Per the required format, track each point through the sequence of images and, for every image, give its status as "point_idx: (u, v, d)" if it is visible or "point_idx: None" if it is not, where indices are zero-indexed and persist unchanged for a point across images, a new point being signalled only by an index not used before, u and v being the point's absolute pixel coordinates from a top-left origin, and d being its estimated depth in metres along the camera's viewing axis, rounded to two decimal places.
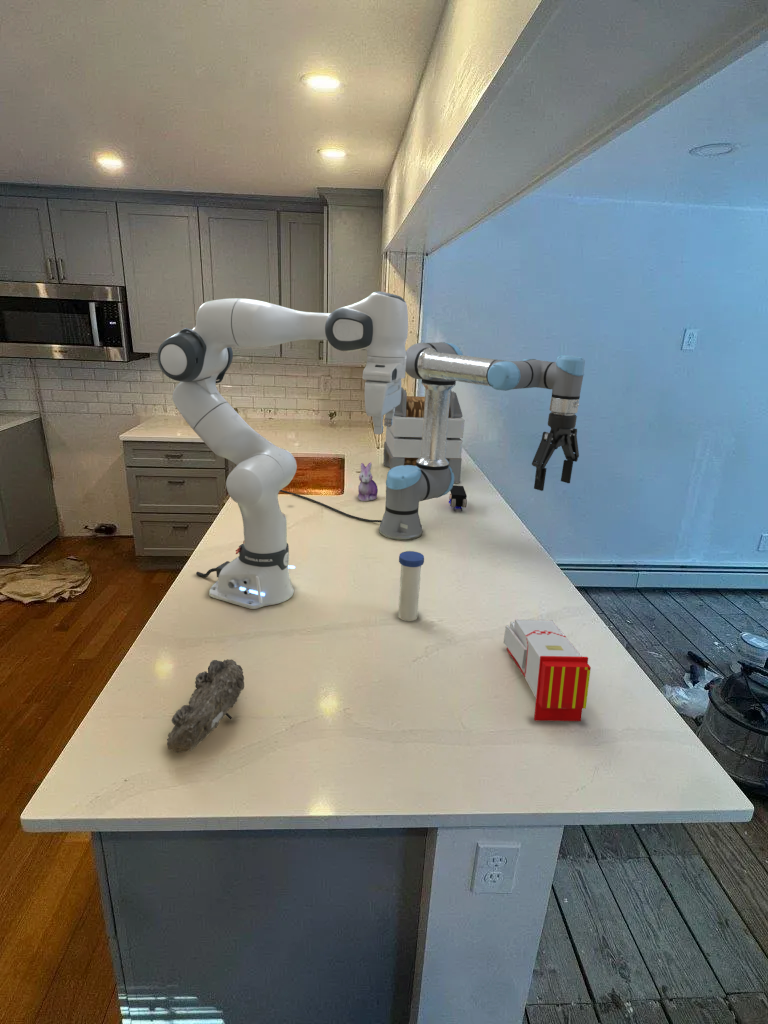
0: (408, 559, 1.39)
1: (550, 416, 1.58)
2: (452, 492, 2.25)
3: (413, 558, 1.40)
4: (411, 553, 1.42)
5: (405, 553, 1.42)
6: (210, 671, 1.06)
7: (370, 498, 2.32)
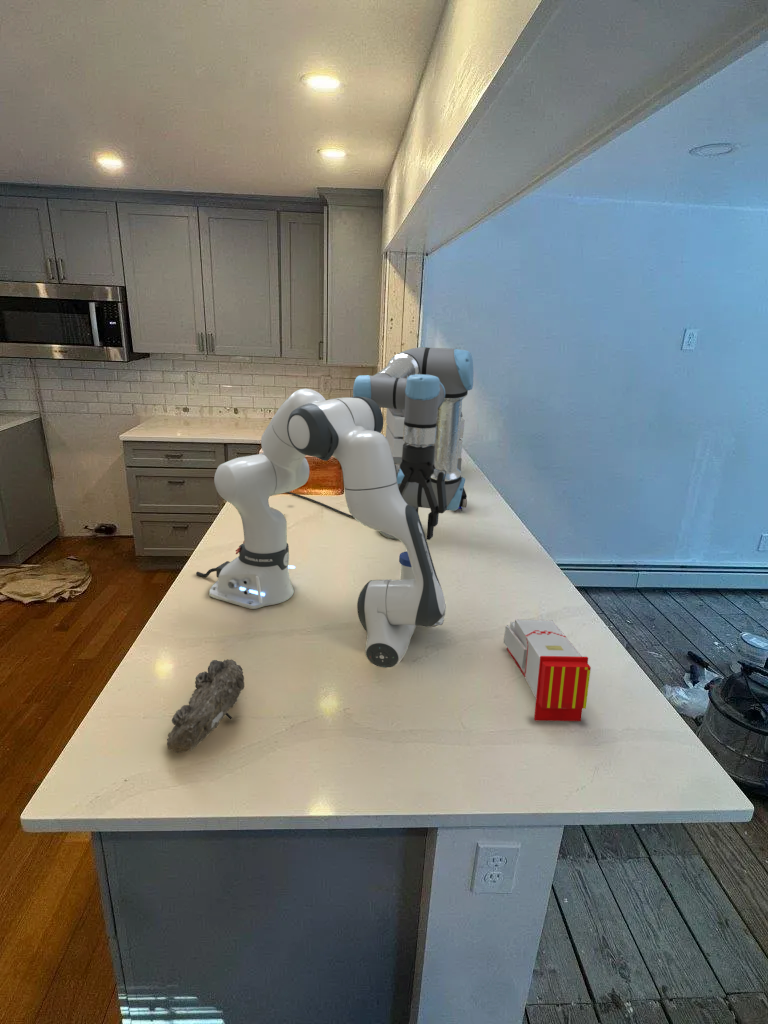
0: (408, 559, 1.39)
1: (429, 451, 1.29)
2: None
3: None
4: None
5: (405, 553, 1.42)
6: (210, 671, 1.06)
7: None
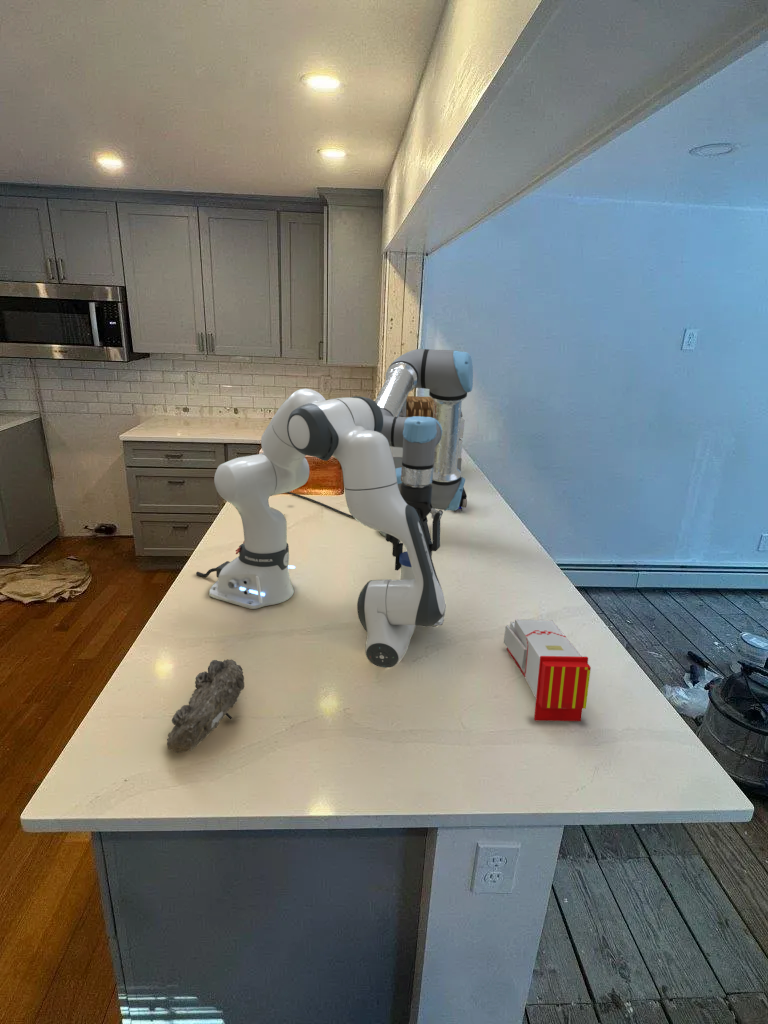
0: (408, 559, 1.39)
1: (426, 491, 1.32)
2: None
3: None
4: None
5: (405, 553, 1.42)
6: (210, 671, 1.06)
7: None
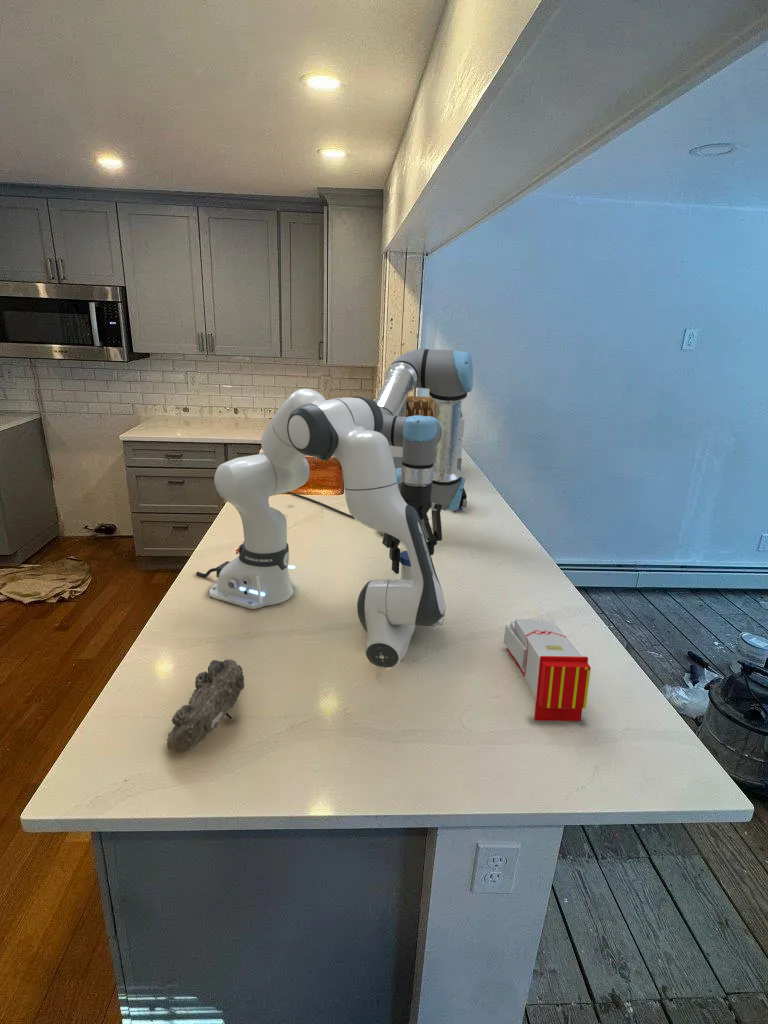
0: None
1: (431, 487, 1.34)
2: None
3: None
4: (408, 557, 1.40)
5: None
6: (210, 671, 1.06)
7: None
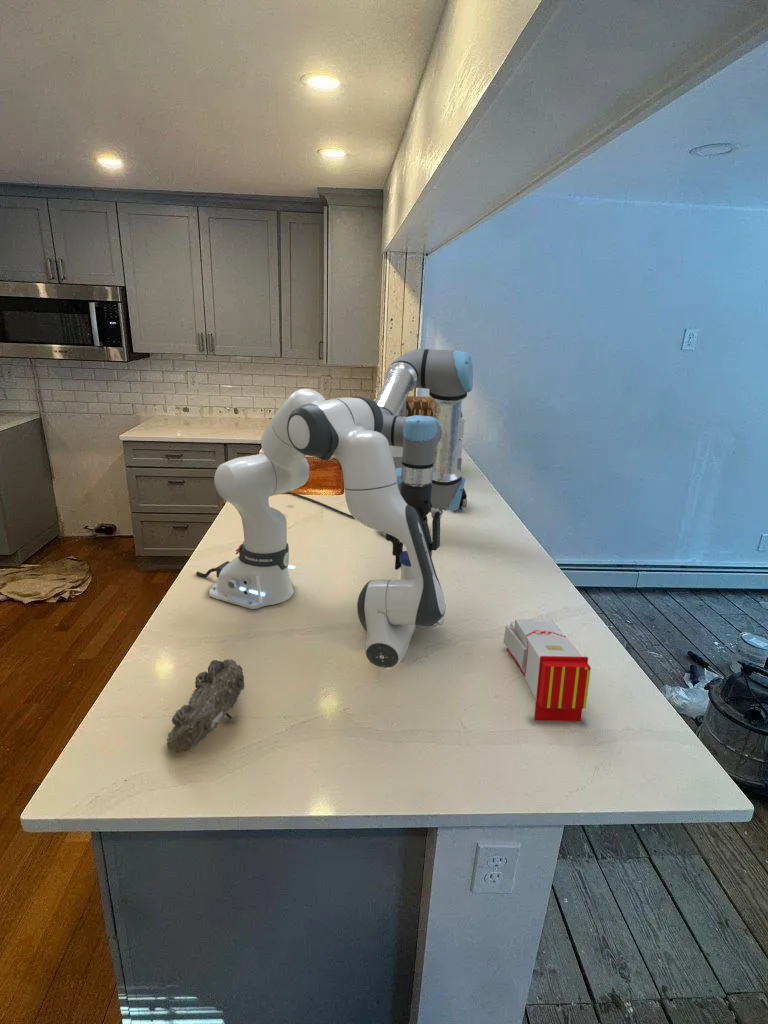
0: None
1: (426, 490, 1.32)
2: None
3: None
4: (408, 557, 1.40)
5: None
6: (210, 671, 1.06)
7: None
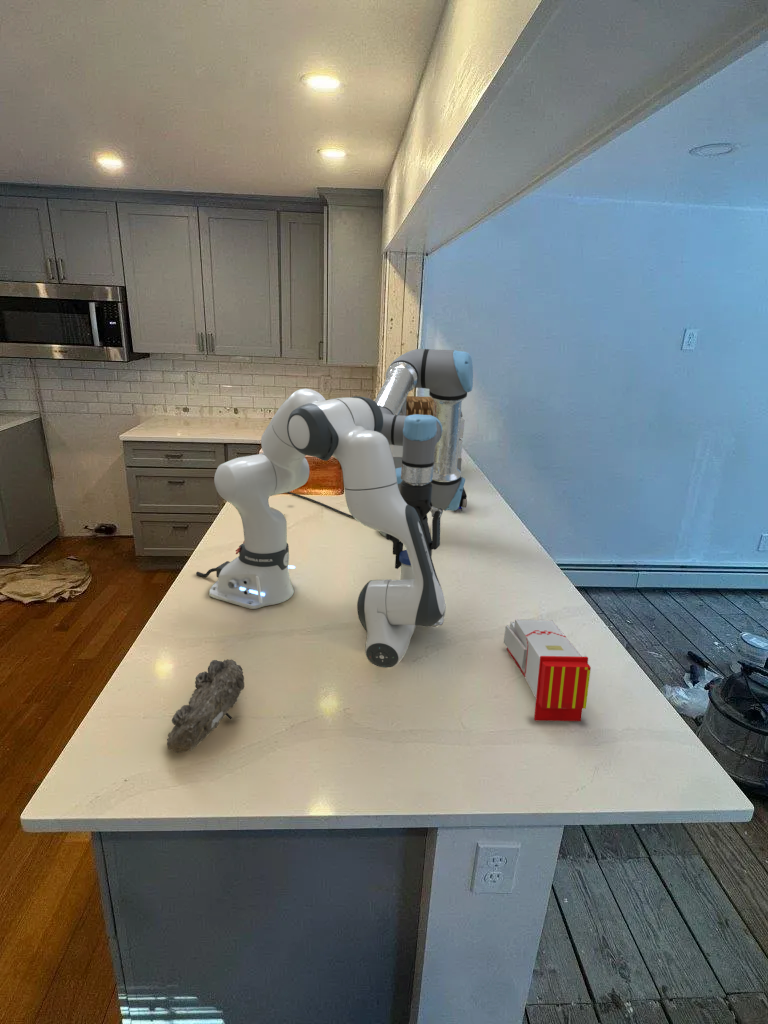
0: (402, 553, 1.41)
1: (426, 489, 1.32)
2: None
3: (406, 555, 1.40)
4: None
5: None
6: (210, 671, 1.06)
7: None
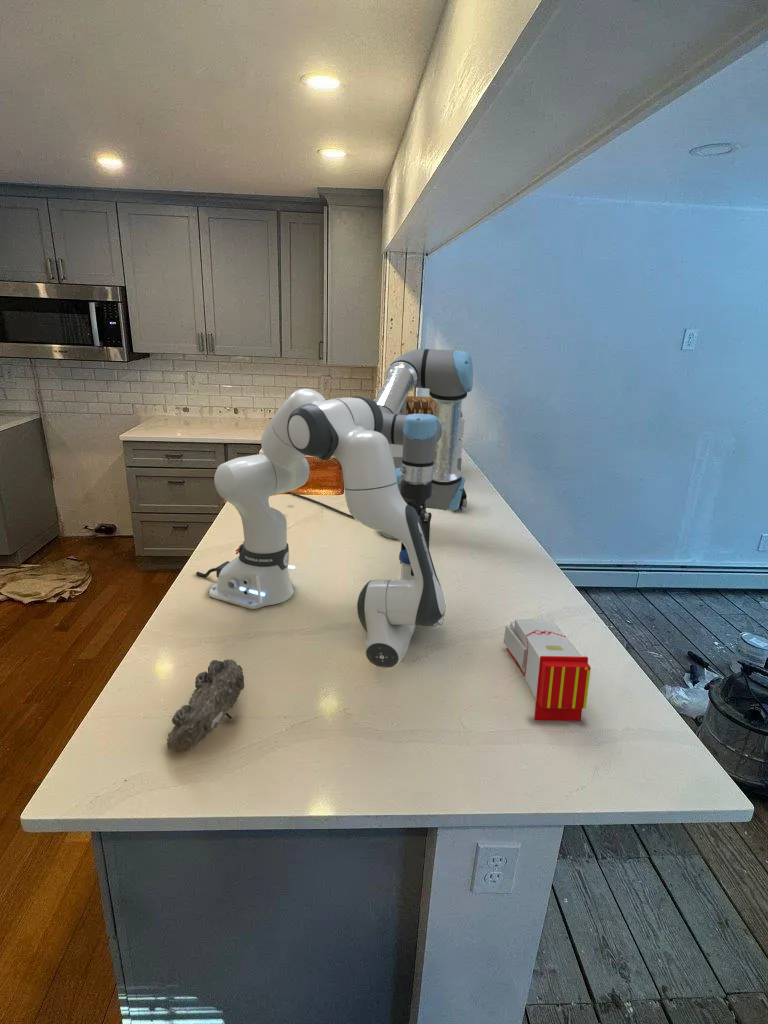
0: None
1: None
2: None
3: None
4: (406, 552, 1.41)
5: (403, 554, 1.40)
6: (210, 671, 1.06)
7: None
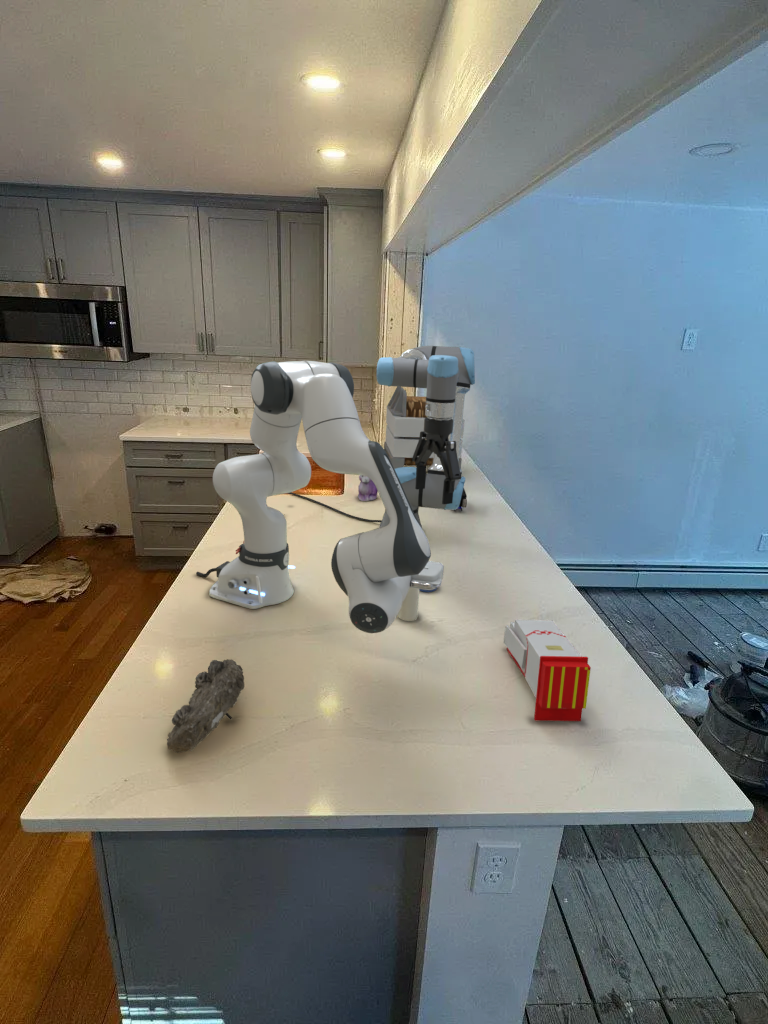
0: None
1: None
2: None
3: None
4: None
5: None
6: (210, 671, 1.06)
7: (370, 498, 2.32)
